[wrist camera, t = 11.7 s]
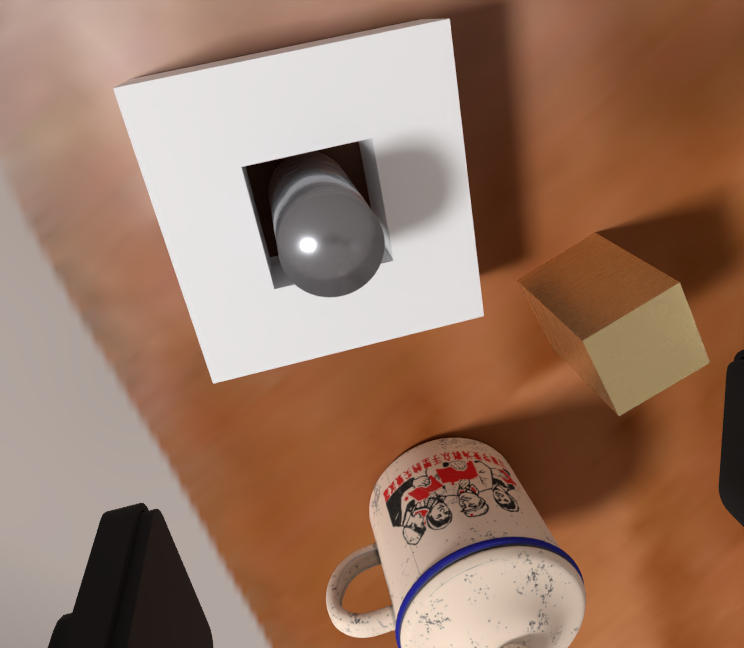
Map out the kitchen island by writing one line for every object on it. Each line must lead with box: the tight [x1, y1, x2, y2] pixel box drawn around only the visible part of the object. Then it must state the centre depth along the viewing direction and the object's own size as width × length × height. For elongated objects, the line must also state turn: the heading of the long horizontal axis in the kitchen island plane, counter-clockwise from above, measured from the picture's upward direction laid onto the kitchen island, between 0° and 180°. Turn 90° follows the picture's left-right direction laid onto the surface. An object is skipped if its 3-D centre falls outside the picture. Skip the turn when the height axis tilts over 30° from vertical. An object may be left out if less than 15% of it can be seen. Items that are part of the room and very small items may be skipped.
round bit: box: [268, 151, 385, 297], centre depth 25 cm, size 4×4×8 cm
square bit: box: [517, 233, 710, 416], centre depth 31 cm, size 4×4×7 cm
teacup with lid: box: [326, 438, 586, 648], centre depth 32 cm, size 12×9×12 cm
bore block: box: [113, 19, 484, 383], centre depth 27 cm, size 12×12×4 cm
